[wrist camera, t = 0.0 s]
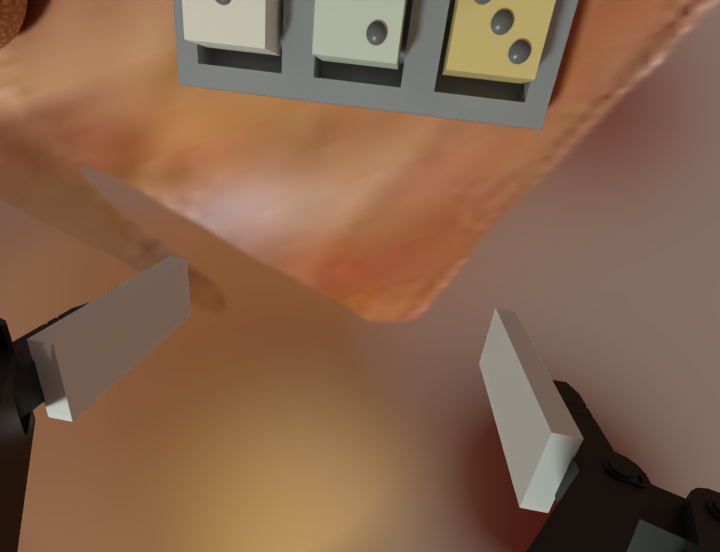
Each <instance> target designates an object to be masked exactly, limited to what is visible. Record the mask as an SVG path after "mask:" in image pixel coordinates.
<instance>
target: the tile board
mask: <svg viewBox="0 0 720 552" xmlns="http://www.w3.org/2000/svg"><path fill="white" fill-rule="evenodd" d="M173 3H174V18H175V32H176V47H177V61H178V75H179V85H184V86H191V87H198V88H206V89H214V90H222V91H230V92H238V93H247V94H255V95H263V96H271V97H279V98H287V99H295V100H303V101H311V102H319V103H327V104H335V105H343V106H351V107H359V108H368V109H376V110H384V111H392V112H400V113H408V114H416V115H424V116H432V117H440V118H448V119H456V120H464V121H472V122H480V123H489V124H497V125H505V126H513V127H521V128H529V129H539V130H541V129H542V126H543V122H544V119H545V115H546V112H547V108H548V105H549V101H550V98H551V94H552V91H553V87H554V84H555V80H556V77H557V73H558V70H559V66H560V63H561V59H562V56H563V52H564V49H565V45H566V42H567V38H568V35H569V31H570V28H571V24H572V21H573V18H574V14H575V11H576V7H577V4H578V0H556V2H555V6H554V9H553V13H552V17H551V21H550V24H549V28H548V32H547V36H546V39H545V43H544V47H543V51H542V54H541V58H540V62H539V66H538V69H537V73H536V77H535V80H532V81H529V82H525V83H522V84H519V83H510V82H501V81H493V80H484V79H476V78H467V77H458V76H450V75H442V73H443V67H444V62H445V56H446V50H447V45H448V39H449V34H450V28H451V22H452V17H453V11H454V5H455V0H407V7H406V15H405V22H404V29H403V37H402V44H401V51H400V59H399V66H398V69H390V68H381V67H372V66H364V65H355V64H347V63H338V62H329V61H322V60H321V59H319V58H317V57H316V56H314V55H313V54H312V46H313V28H314V10H315V0H282V2H281V41H280V56H278V55H269V54H261V53H252V52H243V51H235V50H226V49H218V48H209V47H205V46H202V45H199V44H196V43H194V42H191V41H188V40H185V39H184V26H183V10H182V0H173Z"/></svg>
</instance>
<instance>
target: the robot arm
mask: <svg viewBox="0 0 720 552" xmlns="http://www.w3.org/2000/svg"><path fill="white" fill-rule="evenodd" d="M190 315H191V309H190V295H189V281H188V267H187V259H184V258H178V257H171V256H170V257H168V258H166V259H164V260H163V261H161V262H159V263H157V264H156V265H154V266H152V267H151V268H149V269H147V270H145V271H144V272H142V273H140V274H139V275H137V276H135V277H133V278H132V279H130V280H128V281H126V282H125V283H123V284H121V285H120V286H118V287H116V288H114V289H113V290H111V291H110V292H107V293H106V294H104V295H102V296H101V297H99V298H97V299H95V300H94V301H92V302H90V303H87V304H84V305H81V306H78V307H75V308H72V309H70V310H68V311H67V312H65V313H63V314H61V315H59V317H58V318H54V319H52V320H51V321H49V322H48V323H47V324H44V325H42V326H40V327H38V328H37V329H35V330H33V331H31V332H29V333H28V334H26V335H24V336H22V337H21V338H19V339H17V340H15V341H13V342H12V340H11V337H10V333H9V330H8V327H7V323H6V321H5V320H3V319H1V318H0V552H17V550H18V542H19V535H20V528H21V520H22V514H23V506H24V499H25V492H26V484H27V476H28V470H29V462H30V455H31V448H32V440H33V433H34V426H35V417H34V413H33V409H35V408H36V407H37V406H39V405H40V404H41V403H42V402H44V403H45V406H46V410H47V413H48V417H51V418H56V419H61V420H67V421H74V420H75V419H76V418H77V417H78V416H79V415H80V414H81V413H83V412H84V411H85V410H86V409H87V408H88V407H89V406H90V405H91V404H93V402H95V401H96V400H97V399H98V398H99V397H100V396H101V395H103V394H104V393H105V392H106V391H107V390H108V389H109V388H110V387H111V386H113V385H114V384H115V383H116V382H117V381H118V380H119V379H120V378H121V377H122V376H124V375H125V374H126V373H127V372H128V371H129V370H130V369H131V368H133V366H135V365H136V364H137V363H138V362H139V361H140V360H141V359H142V358H144V356H146V355H147V354H148V353H149V352H150V351H151V350H152V349H154V348H155V347H156V346H157V345H158V344H159V343H160V342H161V341H162V340H164V338H166V337H167V336H168V335H169V334H170V333H171V332H172V331H173V330H175V329H176V328H177V327H178V326H179V325H180V324H181V323H182V322H184V321H185V320H186V319H187V318H188V317H189V316H190ZM479 364H480V367H481V371H482V375H483V378H484V382H485V385H486V389H487V393H488V396H489V399H490V403H491V406H492V410H493V414H494V417H495V421H496V425H497V428H498V432H499V435H500V439H501V442H502V446H503V450H504V453H505V457H506V460H507V464H508V467H509V471H510V474H511V478H512V482H513V485H514V489H515V492H516V496H517V499H518V503H519V507H520V508H525V509H530V510H536V511H541V512H546V513H548V512H549V510H550V508H551V506H552V504H553V502H554V500H555V498H556V501H557V503H558V504H557V506H556V507H555V509H554V510H553V512H552V514H551V515H550V516H549V518H548V519H547V521H546V522H545V524H544V526H543V527H542V528H541V530H540V532H539V533H538V535H537V536H536V538H535V539H534V541H533V542H532V544H531V545H530V547H529V548H528V550H527V551H526V552H720V493H719V492H716V491H713V490H710V489H706V488H696V489H694V490H692V491H691V492H690V493H689V495H688V496H687V498H686V499H685V498H683V497H681V496H678V495H676V494H673V493H671V492H668V491H666V490H664V489H661V488H659V487H656V486H654V485H652V484H651V483H650V481H649V479H648V477H647V475H646V474H645V473H644V472H643V471H642V470H641V468H640V467H639V466H638V465H636V464H635V463H633V462H632V461H631V460H629V459H628V458H627V457H625V456H622V455H620V454H618V453H616V452H614V450H613V449H612V447H611V445H610V444H609V442H608V440H607V439H606V437H605V436H604V434H603V432H602V431H601V429H600V427H599V426H598V424H597V422H596V421H595V419H594V418H592V415H591V413H590V411H589V409H588V408H586V404H585V403H584V401H583V400H582V398H581V396H580V395H579V393H578V392H576V391H575V390H574V389H573V388H572V387H571V386H570V385H569V384H568V383H566V382H561V381H556V380H552V379H551V377H550V375H549V373H548V372H547V370H546V368H545V366H544V365H543V362H542V360H541V359H540V357H539V355H538V353H537V351H536V349H535V347H534V346H533V344H532V342H531V340H530V338H529V336H528V334H527V333H526V331H525V329H524V327H523V325H522V323H521V321H520V320H519V318H518V316H517V314H516V312H515V311H513V310H507V309H500V308H495V312H494V315H493V318H492V322H491V325H490V329H489V332H488V335H487V339H486V342H485V346H484V349H483V353H482V356H481V359H480V363H479Z"/></svg>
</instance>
